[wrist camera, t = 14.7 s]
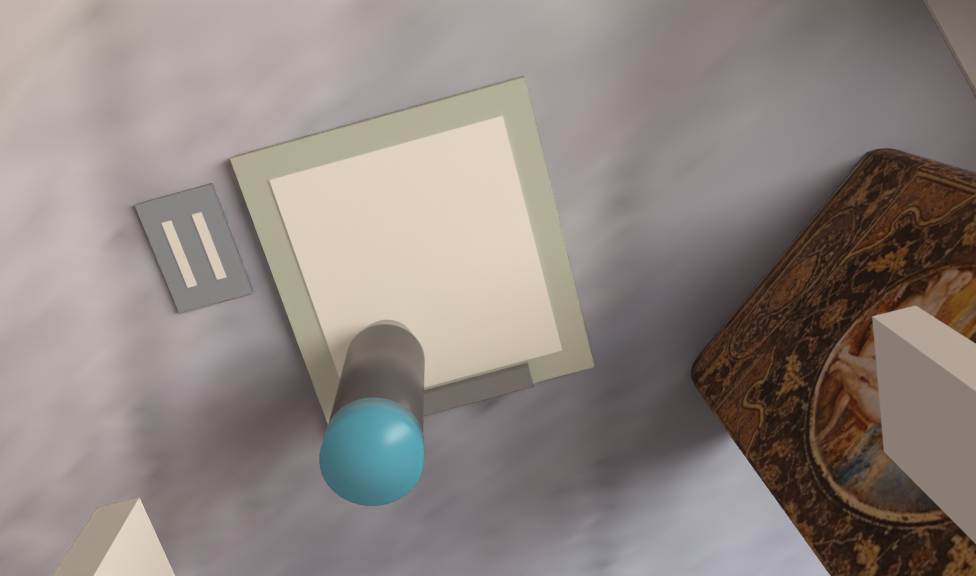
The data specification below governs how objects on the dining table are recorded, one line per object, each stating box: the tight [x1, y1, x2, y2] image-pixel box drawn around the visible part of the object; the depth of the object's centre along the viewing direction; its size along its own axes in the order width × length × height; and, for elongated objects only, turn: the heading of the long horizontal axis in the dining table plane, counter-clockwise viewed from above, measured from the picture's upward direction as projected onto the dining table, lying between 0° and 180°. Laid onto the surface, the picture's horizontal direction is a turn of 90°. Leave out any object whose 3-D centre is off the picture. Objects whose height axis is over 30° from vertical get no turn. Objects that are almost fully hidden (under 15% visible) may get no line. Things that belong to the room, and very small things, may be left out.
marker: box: [319, 320, 425, 506], centre depth 38 cm, size 4×4×12 cm
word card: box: [134, 183, 253, 313], centre depth 43 cm, size 6×4×1 cm, turn 15°
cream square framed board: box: [230, 76, 595, 424], centre depth 43 cm, size 16×15×1 cm
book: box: [691, 149, 976, 576], centre depth 34 cm, size 16×6×25 cm, turn 145°
